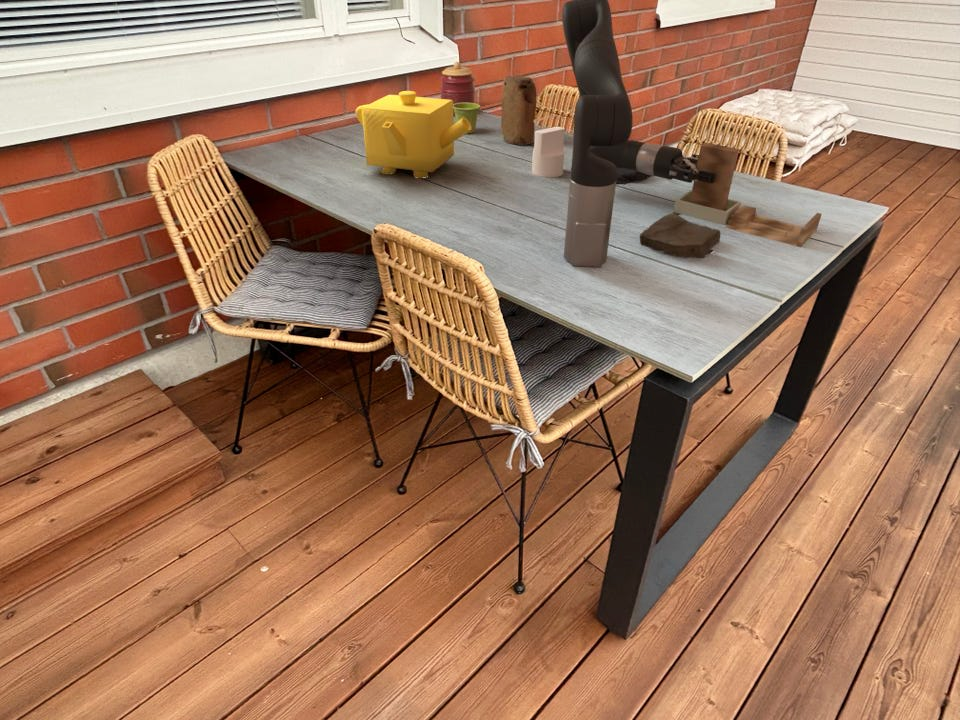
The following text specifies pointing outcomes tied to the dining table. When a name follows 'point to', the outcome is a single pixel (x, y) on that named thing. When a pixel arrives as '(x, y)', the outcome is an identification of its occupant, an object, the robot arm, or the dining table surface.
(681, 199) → the tray
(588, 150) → the robot arm
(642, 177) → the dark slate chunk
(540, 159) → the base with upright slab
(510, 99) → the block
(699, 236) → the brown irregular slab
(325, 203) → the dining table surface
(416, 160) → the cube teapot
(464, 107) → the plant pot
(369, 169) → the dining table surface
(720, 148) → the board
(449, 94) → the canister
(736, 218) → the rack
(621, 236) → the dining table surface
